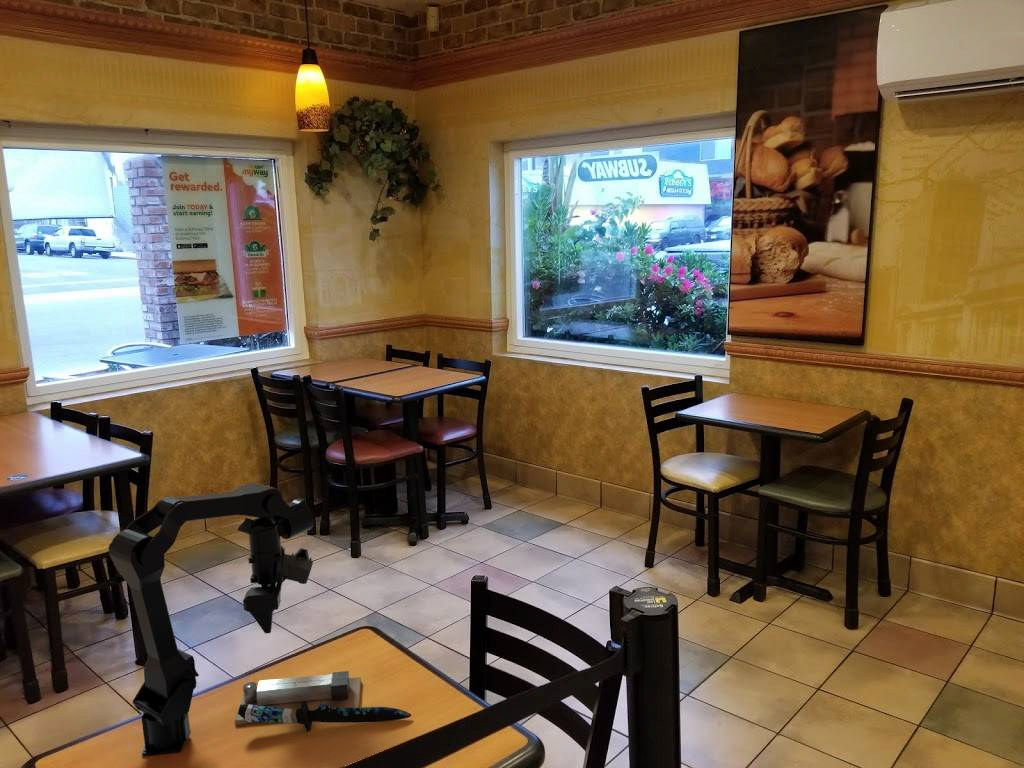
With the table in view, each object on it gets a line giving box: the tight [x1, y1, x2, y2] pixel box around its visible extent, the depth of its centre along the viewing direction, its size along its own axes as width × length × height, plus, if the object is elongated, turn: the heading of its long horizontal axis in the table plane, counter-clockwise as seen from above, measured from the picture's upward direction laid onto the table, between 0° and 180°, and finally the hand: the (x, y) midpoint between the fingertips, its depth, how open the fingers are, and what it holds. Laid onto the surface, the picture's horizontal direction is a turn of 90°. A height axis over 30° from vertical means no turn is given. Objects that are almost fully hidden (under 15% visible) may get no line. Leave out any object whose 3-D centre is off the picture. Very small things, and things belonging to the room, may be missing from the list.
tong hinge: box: [242, 681, 258, 705], centre depth 144 cm, size 2×2×3 cm
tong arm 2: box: [257, 670, 350, 688], centre depth 147 cm, size 16×2×3 cm, turn 98°
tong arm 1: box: [257, 678, 349, 706], centre depth 144 cm, size 16×2×3 cm, turn 98°
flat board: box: [234, 676, 362, 726], centre depth 146 cm, size 22×10×1 cm, turn 98°
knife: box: [237, 701, 412, 733], centre depth 139 cm, size 31×3×4 cm, turn 93°
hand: (271, 620), depth 152 cm, fingers open, 9 cm apart
